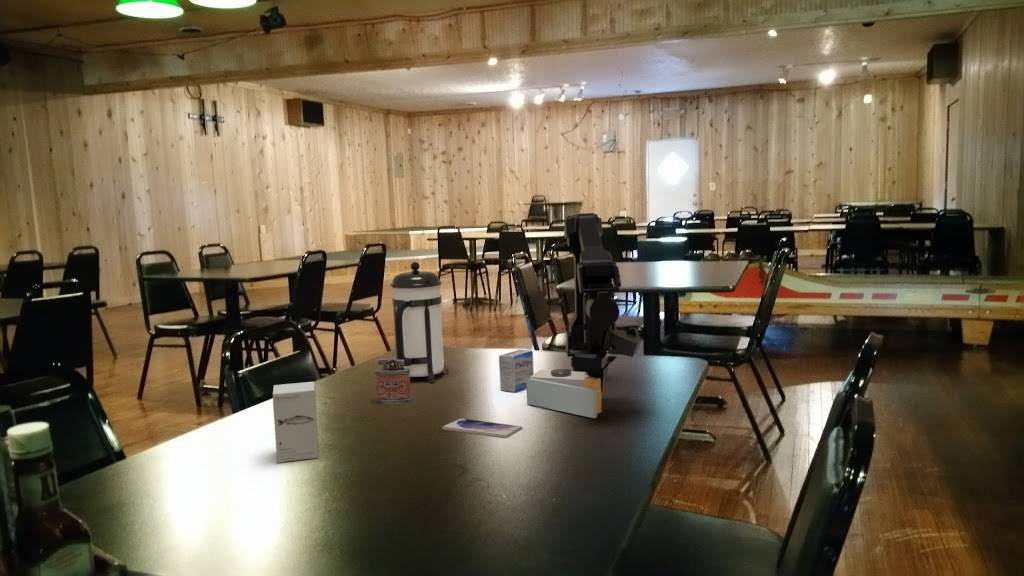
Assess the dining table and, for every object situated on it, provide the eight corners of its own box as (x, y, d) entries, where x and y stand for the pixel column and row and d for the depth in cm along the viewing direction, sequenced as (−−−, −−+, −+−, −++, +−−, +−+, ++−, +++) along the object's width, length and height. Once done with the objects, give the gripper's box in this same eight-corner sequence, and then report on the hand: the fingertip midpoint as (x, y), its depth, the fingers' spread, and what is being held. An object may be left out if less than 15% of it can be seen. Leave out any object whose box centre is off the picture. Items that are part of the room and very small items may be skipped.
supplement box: (276, 464, 127) (270, 393, 126) (278, 451, 134) (272, 384, 133) (319, 458, 129) (314, 389, 128) (319, 446, 136) (314, 380, 135)
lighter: (413, 399, 167) (410, 356, 166) (409, 403, 163) (407, 359, 162) (379, 399, 168) (376, 357, 166) (374, 404, 164) (372, 360, 163)
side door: (533, 401, 160) (532, 366, 159) (601, 415, 147) (600, 378, 146) (526, 403, 158) (524, 368, 157) (593, 418, 145) (592, 380, 145)
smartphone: (460, 417, 150) (524, 426, 142) (460, 421, 150) (524, 430, 142) (440, 426, 143) (506, 436, 136) (440, 430, 143) (506, 440, 136)
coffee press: (381, 376, 191) (374, 262, 188) (439, 368, 198) (433, 258, 194) (400, 390, 175) (392, 266, 172) (461, 381, 182) (456, 262, 179)
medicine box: (515, 393, 169) (513, 356, 168) (499, 390, 171) (498, 354, 170) (534, 385, 175) (533, 350, 174) (519, 383, 178) (518, 348, 177)
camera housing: (541, 395, 165) (540, 366, 165) (601, 399, 160) (600, 369, 159) (530, 403, 159) (529, 373, 158) (592, 408, 154) (591, 376, 153)
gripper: (625, 328, 137) (627, 408, 139) (646, 311, 154) (648, 383, 156) (569, 326, 141) (571, 404, 143) (595, 310, 158) (597, 380, 160)
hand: (599, 392), depth 150 cm, fingers closed
